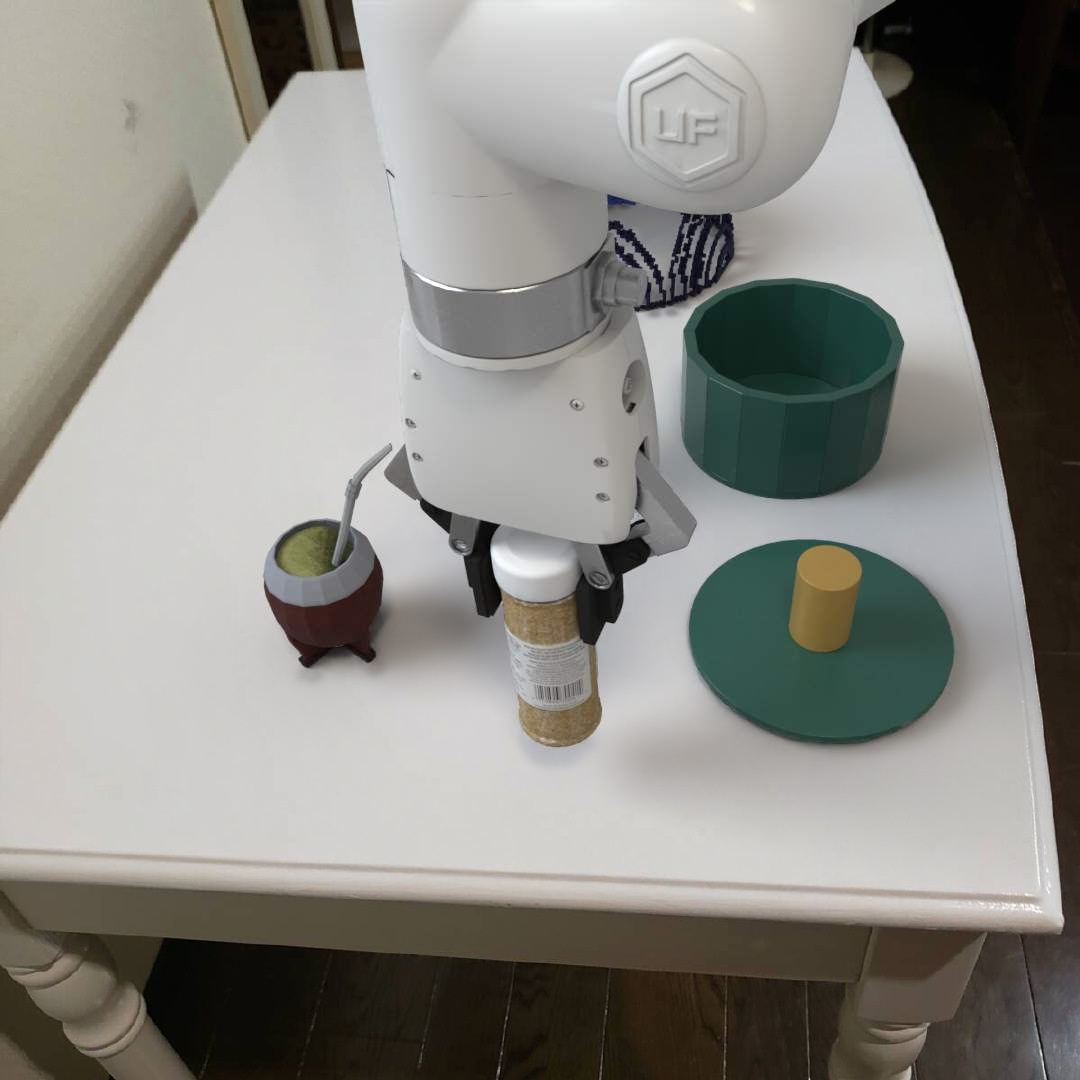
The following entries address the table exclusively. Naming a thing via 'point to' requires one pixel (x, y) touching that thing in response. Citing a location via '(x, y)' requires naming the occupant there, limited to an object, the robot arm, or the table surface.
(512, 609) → the sprinkles bottle
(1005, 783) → the table surface
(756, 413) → the tin
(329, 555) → the mate gourd
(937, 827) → the table surface
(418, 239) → the robot arm
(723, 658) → the lid
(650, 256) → the decorative bowl
